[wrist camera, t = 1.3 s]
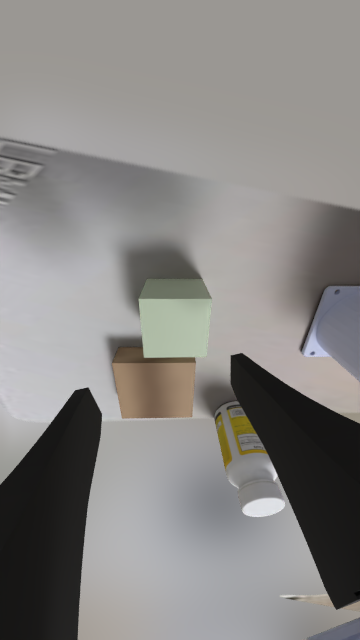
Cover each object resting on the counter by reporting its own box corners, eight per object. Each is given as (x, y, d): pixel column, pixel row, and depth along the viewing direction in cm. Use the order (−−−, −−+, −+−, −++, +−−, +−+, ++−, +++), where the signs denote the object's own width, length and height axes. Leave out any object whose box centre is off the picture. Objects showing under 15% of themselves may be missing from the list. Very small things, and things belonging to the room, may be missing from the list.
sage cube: (202, 278, 18) (211, 298, 14) (199, 326, 20) (206, 357, 16) (147, 278, 18) (138, 298, 13) (150, 326, 20) (143, 357, 16)
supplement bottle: (228, 431, 28) (252, 525, 20) (205, 412, 26) (221, 508, 18) (261, 414, 27) (303, 508, 18) (240, 393, 25) (276, 487, 16)
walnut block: (192, 344, 22) (195, 362, 19) (190, 396, 25) (192, 417, 23) (119, 345, 21) (111, 363, 19) (127, 397, 25) (122, 418, 22)
